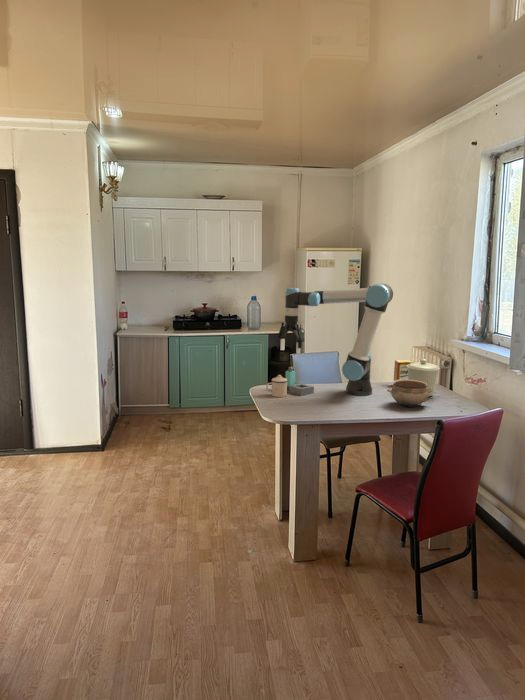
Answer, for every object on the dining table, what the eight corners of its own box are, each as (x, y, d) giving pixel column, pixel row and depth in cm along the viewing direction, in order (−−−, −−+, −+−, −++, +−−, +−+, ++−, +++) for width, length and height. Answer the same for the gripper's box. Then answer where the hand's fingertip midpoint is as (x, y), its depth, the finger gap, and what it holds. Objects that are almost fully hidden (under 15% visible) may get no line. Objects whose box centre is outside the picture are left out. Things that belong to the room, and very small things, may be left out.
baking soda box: (396, 387, 314) (398, 361, 311) (393, 385, 320) (394, 359, 318) (412, 387, 315) (413, 361, 312) (408, 385, 321) (410, 359, 318)
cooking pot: (393, 411, 264) (394, 387, 262) (379, 401, 282) (381, 379, 280) (439, 409, 267) (441, 386, 265) (422, 400, 286) (424, 378, 284)
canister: (443, 395, 297) (446, 359, 293) (426, 400, 285) (429, 363, 281) (416, 389, 310) (418, 354, 306) (398, 394, 298) (400, 358, 295)
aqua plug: (294, 389, 304) (295, 367, 302) (289, 390, 302) (290, 368, 299) (290, 388, 307) (290, 366, 305) (285, 389, 305) (285, 367, 302)
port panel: (313, 393, 296) (313, 386, 296) (301, 396, 290) (301, 389, 290) (301, 389, 304) (301, 383, 303) (288, 392, 298) (289, 385, 297)
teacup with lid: (285, 393, 296) (285, 373, 294) (288, 397, 287) (289, 376, 285) (264, 393, 294) (265, 373, 292) (267, 397, 285) (267, 377, 283)
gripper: (272, 313, 303) (271, 349, 306) (301, 317, 284) (300, 355, 288) (281, 312, 308) (280, 348, 311) (311, 317, 289) (310, 354, 292)
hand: (290, 351), depth 299 cm, fingers open, 13 cm apart
